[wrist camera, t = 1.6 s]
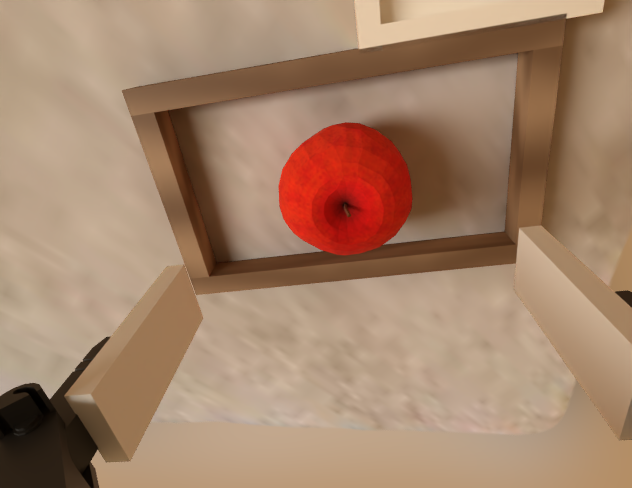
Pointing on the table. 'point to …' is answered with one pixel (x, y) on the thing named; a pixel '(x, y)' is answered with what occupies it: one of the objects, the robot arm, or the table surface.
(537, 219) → the pocket frame
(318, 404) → the table surface
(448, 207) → the table surface
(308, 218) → the apple
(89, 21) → the table surface
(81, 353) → the table surface
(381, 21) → the dish
